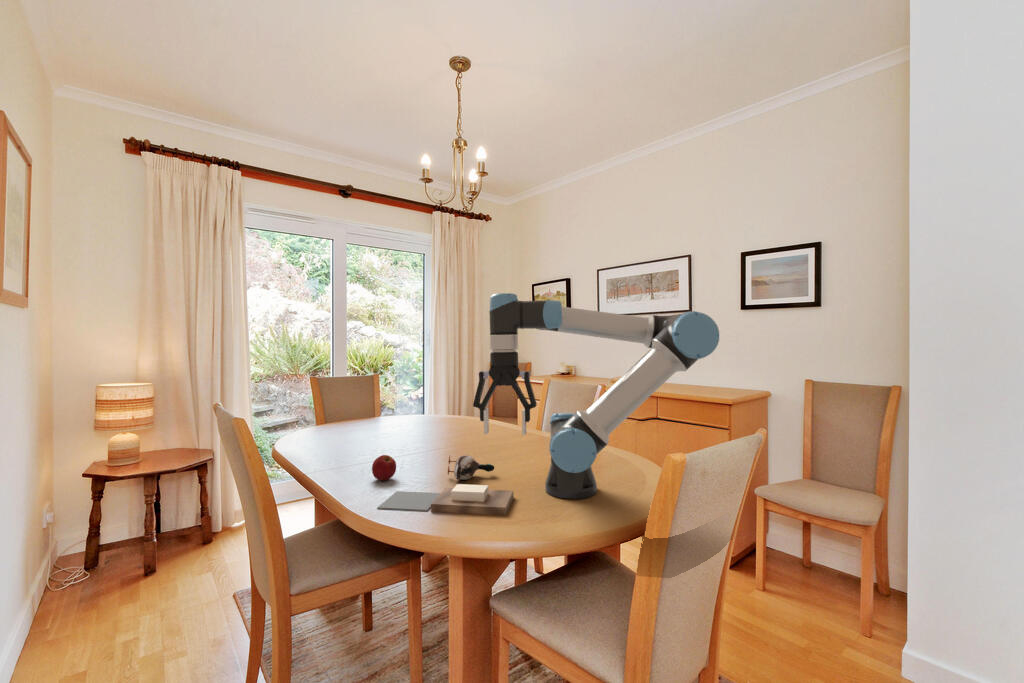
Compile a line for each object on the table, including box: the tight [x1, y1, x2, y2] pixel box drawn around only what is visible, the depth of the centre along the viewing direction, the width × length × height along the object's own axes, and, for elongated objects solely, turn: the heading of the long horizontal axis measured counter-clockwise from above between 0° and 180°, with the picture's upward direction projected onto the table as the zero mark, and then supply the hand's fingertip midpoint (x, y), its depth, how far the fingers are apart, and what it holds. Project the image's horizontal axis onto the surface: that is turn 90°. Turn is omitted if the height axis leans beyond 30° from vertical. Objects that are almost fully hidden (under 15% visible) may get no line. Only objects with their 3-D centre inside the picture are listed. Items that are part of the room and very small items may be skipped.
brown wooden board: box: [430, 487, 514, 516], centre depth 125 cm, size 20×13×2 cm, turn 81°
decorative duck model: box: [447, 455, 495, 481], centre depth 147 cm, size 15×8×15 cm
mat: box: [376, 490, 441, 512], centre depth 128 cm, size 14×13×1 cm
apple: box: [371, 454, 397, 482], centre depth 148 cm, size 8×8×8 cm
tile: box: [451, 483, 489, 502], centre depth 125 cm, size 9×6×2 cm, turn 81°
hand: (505, 433), depth 124 cm, fingers open, 10 cm apart
